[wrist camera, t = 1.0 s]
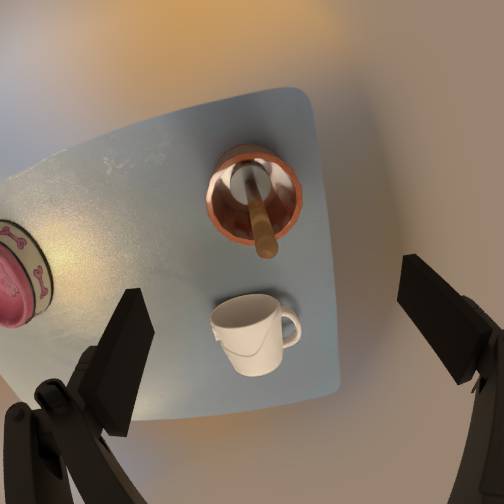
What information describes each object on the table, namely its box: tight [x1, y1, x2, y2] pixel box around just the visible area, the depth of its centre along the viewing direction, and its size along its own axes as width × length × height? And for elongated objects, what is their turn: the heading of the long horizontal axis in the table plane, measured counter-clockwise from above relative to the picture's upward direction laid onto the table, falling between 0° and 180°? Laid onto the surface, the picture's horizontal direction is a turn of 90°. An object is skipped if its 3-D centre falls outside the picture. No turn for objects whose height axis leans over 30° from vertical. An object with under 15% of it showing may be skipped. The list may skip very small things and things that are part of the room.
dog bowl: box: [0, 220, 53, 328], centre depth 38 cm, size 18×19×7 cm
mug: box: [210, 294, 301, 376], centre depth 44 cm, size 12×9×8 cm
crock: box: [206, 144, 303, 246], centre depth 34 cm, size 9×9×10 cm
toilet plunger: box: [230, 162, 278, 259], centre depth 28 cm, size 5×5×21 cm
